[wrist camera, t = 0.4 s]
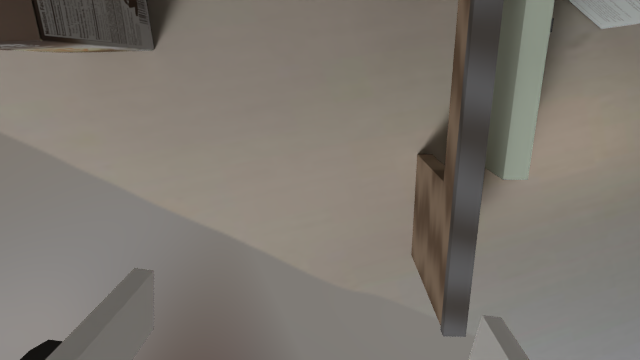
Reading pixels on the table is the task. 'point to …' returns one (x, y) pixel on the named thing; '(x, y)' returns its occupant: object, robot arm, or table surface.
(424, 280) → the wall frame
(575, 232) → the table surface
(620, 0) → the small box
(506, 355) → the robot arm
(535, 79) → the sliding door
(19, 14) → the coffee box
